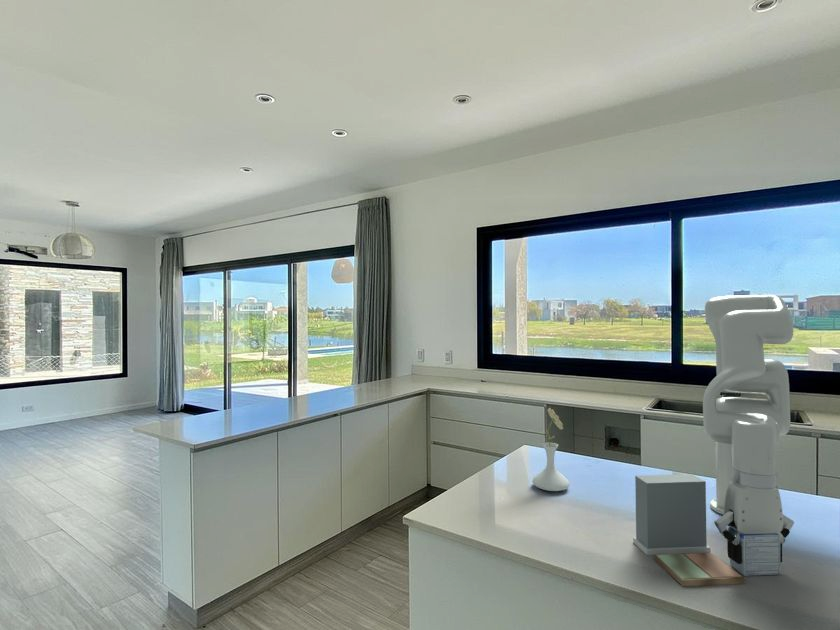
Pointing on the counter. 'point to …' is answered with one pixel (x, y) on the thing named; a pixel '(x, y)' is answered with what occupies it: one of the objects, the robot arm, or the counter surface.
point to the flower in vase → (551, 464)
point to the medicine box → (759, 554)
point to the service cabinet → (670, 514)
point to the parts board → (698, 569)
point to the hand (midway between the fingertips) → (754, 559)
